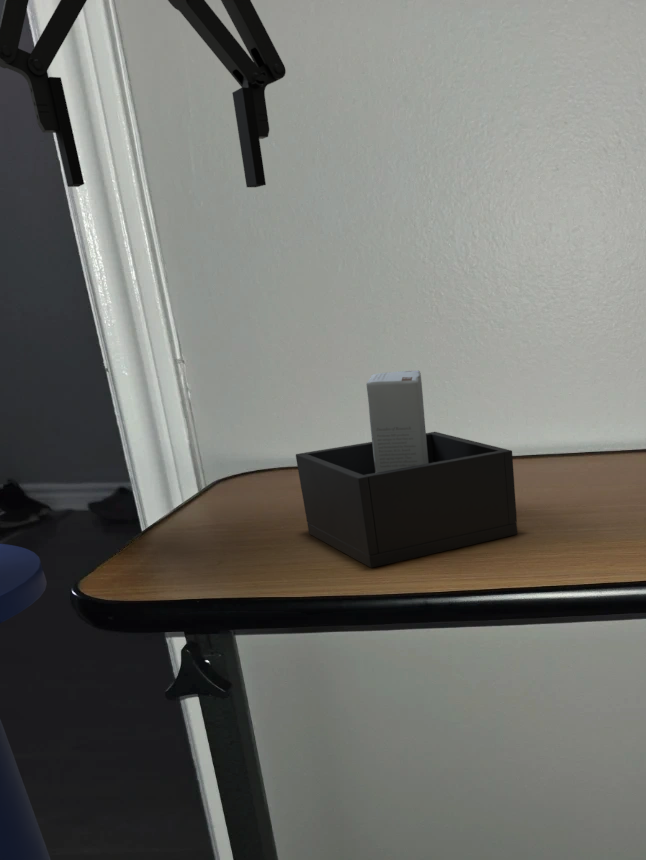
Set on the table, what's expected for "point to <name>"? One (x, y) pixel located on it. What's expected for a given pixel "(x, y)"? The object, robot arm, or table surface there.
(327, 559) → the table surface
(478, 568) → the table surface
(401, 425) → the cosmetic box
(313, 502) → the basket
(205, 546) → the table surface
